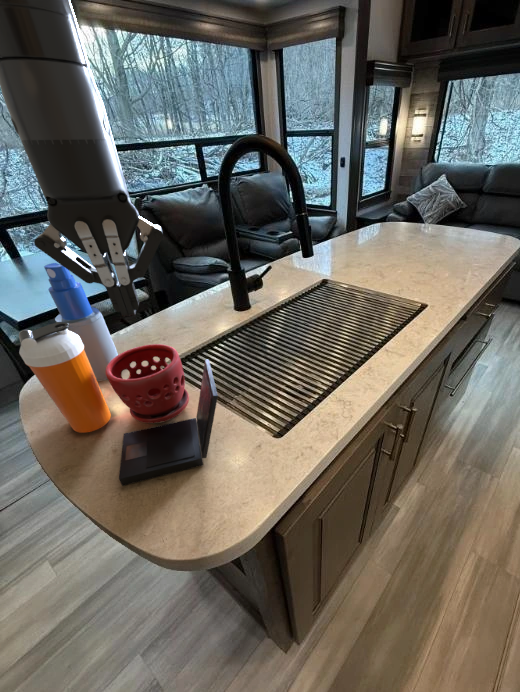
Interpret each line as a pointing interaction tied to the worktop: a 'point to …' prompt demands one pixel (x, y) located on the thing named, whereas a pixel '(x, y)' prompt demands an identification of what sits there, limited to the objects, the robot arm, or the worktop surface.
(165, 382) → the flower pot
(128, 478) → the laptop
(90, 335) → the spray bottle
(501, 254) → the worktop surface
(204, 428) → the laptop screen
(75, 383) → the shaker bottle
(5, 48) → the robot arm
